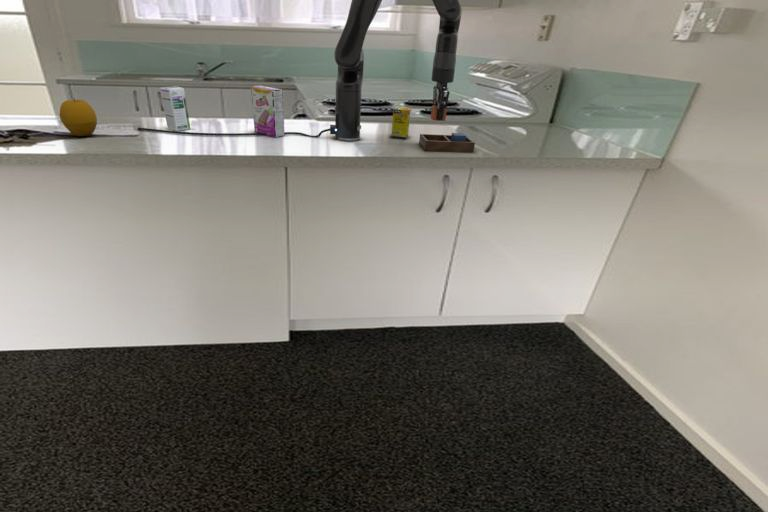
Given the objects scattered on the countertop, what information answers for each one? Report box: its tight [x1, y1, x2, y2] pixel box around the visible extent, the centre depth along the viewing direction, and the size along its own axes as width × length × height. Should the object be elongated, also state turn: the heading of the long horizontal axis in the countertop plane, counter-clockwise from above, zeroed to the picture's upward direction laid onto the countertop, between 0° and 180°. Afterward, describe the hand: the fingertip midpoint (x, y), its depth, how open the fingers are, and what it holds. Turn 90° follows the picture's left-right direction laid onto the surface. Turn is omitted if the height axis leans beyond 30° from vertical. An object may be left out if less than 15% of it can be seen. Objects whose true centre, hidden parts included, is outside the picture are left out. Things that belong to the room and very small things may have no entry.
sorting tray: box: [418, 133, 476, 154], centre depth 155 cm, size 18×11×4 cm, turn 96°
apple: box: [59, 98, 98, 138], centre depth 135 cm, size 10×10×12 cm
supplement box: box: [390, 106, 411, 140], centre depth 164 cm, size 6×6×11 cm
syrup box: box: [159, 85, 191, 132], centre depth 151 cm, size 6×6×14 cm
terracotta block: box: [430, 104, 448, 122], centre depth 149 cm, size 4×4×4 cm
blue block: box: [450, 132, 467, 142], centre depth 155 cm, size 4×4×4 cm
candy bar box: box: [250, 85, 286, 138], centre depth 153 cm, size 11×5×16 cm, turn 58°
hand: (437, 118), depth 150 cm, fingers closed on terracotta block, 4 cm apart
